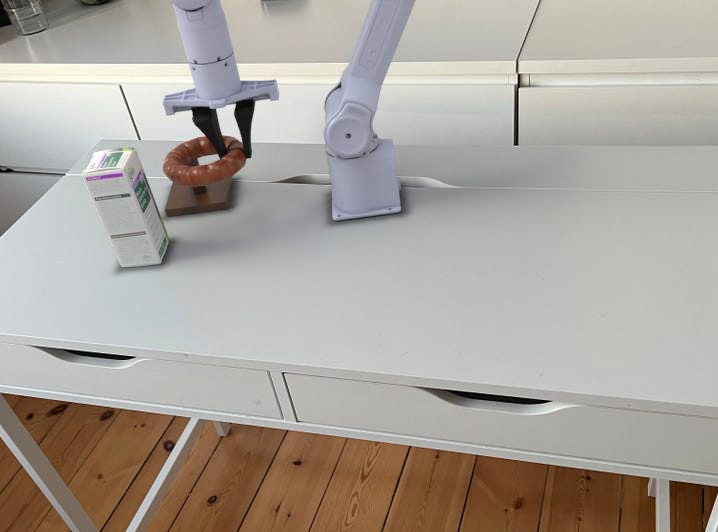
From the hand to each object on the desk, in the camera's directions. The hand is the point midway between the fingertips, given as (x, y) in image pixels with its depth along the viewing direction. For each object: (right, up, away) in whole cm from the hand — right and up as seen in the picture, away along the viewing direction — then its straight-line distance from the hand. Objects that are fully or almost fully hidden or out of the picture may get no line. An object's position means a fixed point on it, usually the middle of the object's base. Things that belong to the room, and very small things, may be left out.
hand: (236, 156), depth 103 cm
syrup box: (-13, -13, +2) cm, 18 cm away
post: (-7, -3, +13) cm, 15 cm away
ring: (-4, 0, 0) cm, 4 cm away
